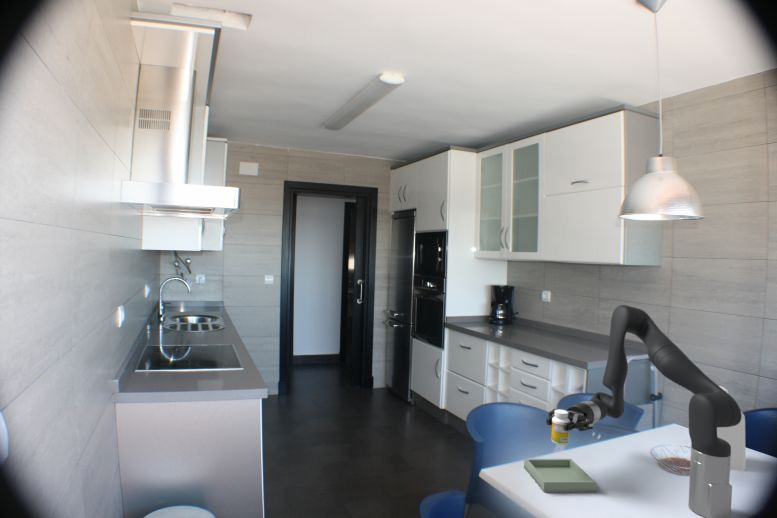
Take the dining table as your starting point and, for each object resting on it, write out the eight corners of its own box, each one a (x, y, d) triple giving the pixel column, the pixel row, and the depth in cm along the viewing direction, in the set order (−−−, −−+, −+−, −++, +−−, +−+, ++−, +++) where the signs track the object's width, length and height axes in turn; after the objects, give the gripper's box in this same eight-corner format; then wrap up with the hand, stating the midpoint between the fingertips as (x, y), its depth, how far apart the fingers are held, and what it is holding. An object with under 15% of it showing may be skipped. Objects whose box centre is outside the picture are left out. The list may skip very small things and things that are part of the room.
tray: (595, 492, 142) (595, 482, 142) (543, 492, 141) (544, 482, 141) (570, 467, 158) (570, 458, 158) (523, 467, 157) (524, 458, 157)
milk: (745, 470, 161) (749, 394, 160) (706, 465, 164) (710, 390, 163) (730, 456, 172) (733, 385, 172) (694, 451, 175) (697, 381, 175)
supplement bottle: (554, 437, 154) (556, 407, 154) (571, 441, 150) (572, 411, 150) (548, 442, 150) (549, 411, 149) (565, 447, 146) (566, 415, 146)
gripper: (564, 397, 164) (536, 406, 154) (605, 408, 153) (578, 419, 142) (563, 418, 164) (535, 429, 154) (604, 432, 153) (577, 444, 143)
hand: (556, 424), depth 148 cm, fingers closed on supplement bottle, 5 cm apart
